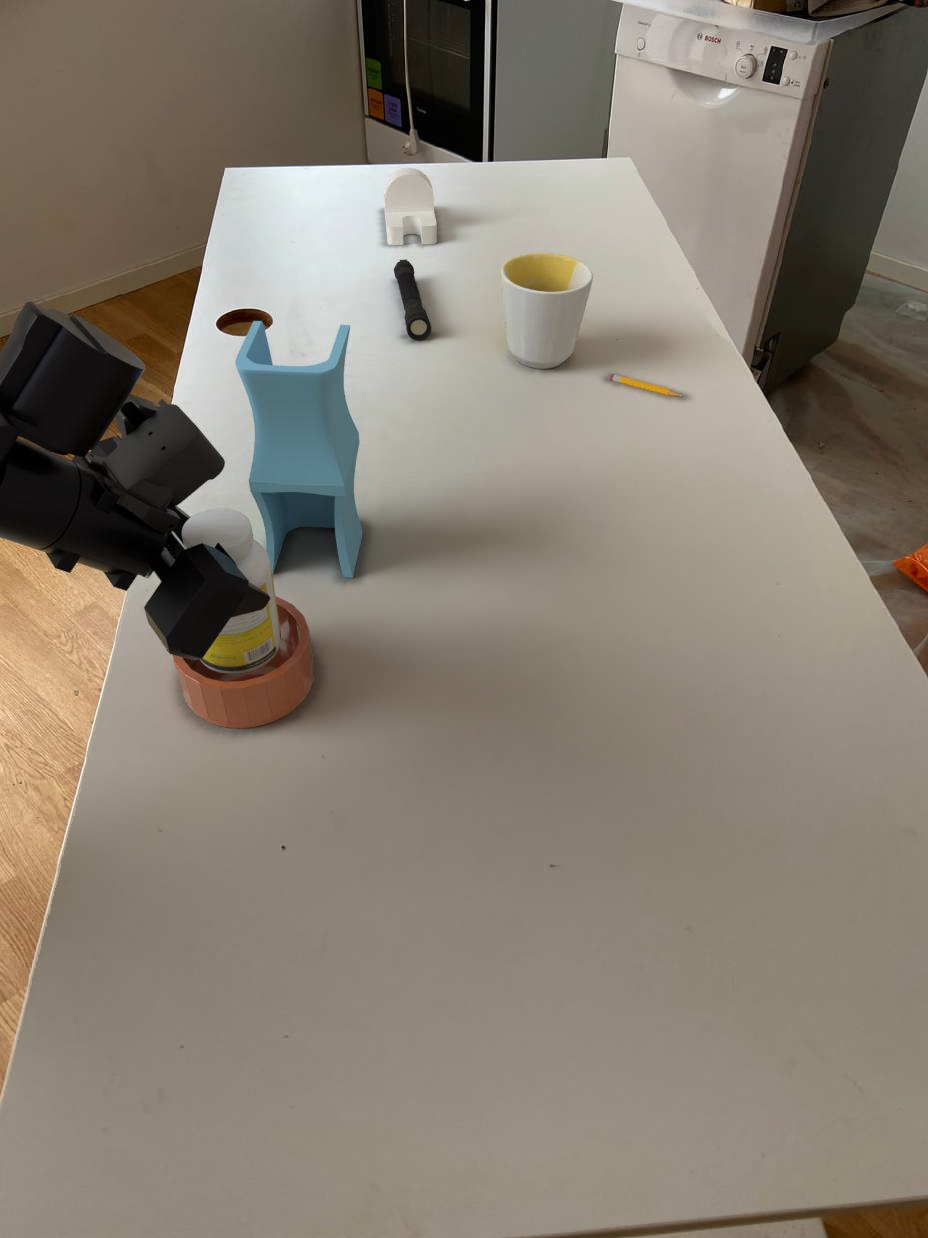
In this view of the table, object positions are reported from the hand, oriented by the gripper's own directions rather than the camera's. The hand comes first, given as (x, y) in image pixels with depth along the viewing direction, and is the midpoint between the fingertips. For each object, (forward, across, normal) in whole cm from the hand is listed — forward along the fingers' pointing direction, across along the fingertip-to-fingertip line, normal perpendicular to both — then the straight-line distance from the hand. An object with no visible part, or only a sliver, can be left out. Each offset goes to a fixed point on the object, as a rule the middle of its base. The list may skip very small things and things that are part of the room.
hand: (244, 576), depth 70 cm
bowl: (+6, 0, +8) cm, 10 cm away
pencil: (+46, +15, -32) cm, 59 cm away
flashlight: (+38, +46, -25) cm, 65 cm away
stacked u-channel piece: (+15, +11, -1) cm, 19 cm away
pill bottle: (+4, 0, +6) cm, 7 cm away
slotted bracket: (+48, +68, -35) cm, 90 cm away
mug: (+43, +28, -29) cm, 59 cm away
